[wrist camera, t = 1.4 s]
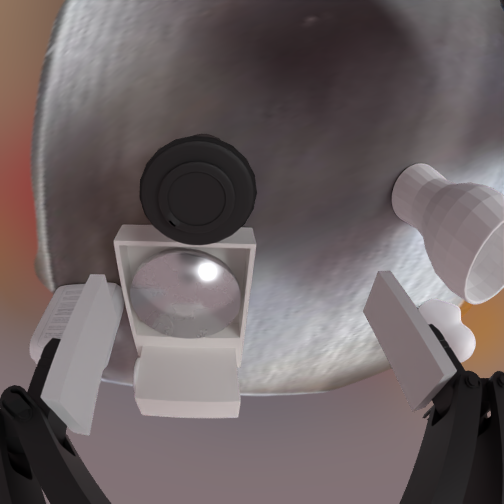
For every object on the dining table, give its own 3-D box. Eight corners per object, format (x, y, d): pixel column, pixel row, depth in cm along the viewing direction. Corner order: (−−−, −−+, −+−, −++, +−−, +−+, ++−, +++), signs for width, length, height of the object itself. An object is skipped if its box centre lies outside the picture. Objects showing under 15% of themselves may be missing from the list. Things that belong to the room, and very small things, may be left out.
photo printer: (66, 307, 35) (37, 378, 24) (54, 283, 32) (17, 354, 22) (130, 304, 35) (110, 384, 25) (120, 277, 33) (93, 359, 23)
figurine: (444, 312, 45) (476, 359, 35) (411, 331, 46) (441, 382, 36) (447, 287, 41) (485, 336, 31) (411, 307, 42) (446, 361, 32)
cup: (393, 245, 35) (458, 326, 22) (369, 176, 30) (457, 250, 17) (452, 207, 33) (526, 270, 20) (437, 137, 27) (534, 187, 15)
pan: (130, 236, 29) (122, 252, 27) (242, 239, 31) (245, 256, 28) (142, 318, 36) (138, 336, 33) (234, 320, 37) (236, 339, 35)
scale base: (122, 224, 29) (87, 293, 20) (252, 227, 31) (269, 299, 22) (144, 349, 40) (135, 416, 31) (237, 352, 42) (245, 419, 33)
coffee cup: (152, 188, 28) (127, 239, 19) (173, 110, 24) (150, 124, 16) (229, 208, 30) (236, 265, 22) (256, 133, 26) (277, 160, 18)
